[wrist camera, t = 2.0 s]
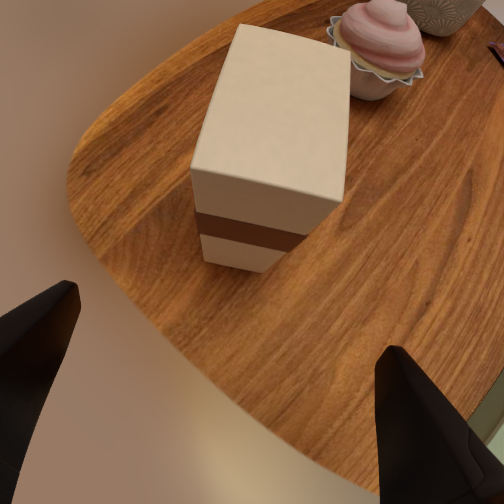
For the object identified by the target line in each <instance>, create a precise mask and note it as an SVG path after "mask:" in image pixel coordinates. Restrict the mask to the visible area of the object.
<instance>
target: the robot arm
mask: <svg viewBox="0 0 504 504" xmlns="http://www.w3.org/2000/svg"><path fill="white" fill-rule="evenodd" d="M80 310H81V301H80V295H79V289H78V285H77V284H76V283H74V282H71V281H67V280H63V281H61V282H59V283H58V284H56V285H54V286H52V287H50V288H49V289H47V290H45V291H43V292H42V293H40V294H38V295H36V296H35V297H33V298H31V299H30V300H28V301H26V302H24V303H23V304H21V305H19V306H18V307H16V308H15V309H13V310H11V311H9V312H8V313H6V314H5V315H3V316H1V317H0V504H11V502H12V499H13V495H14V491H15V488H16V484H17V481H18V477H19V474H20V473H19V472H20V470H21V467H22V464H23V461H24V458H25V455H26V452H27V449H28V446H29V443H30V440H31V437H32V434H33V432H34V429H35V426H36V423H37V421H38V418H39V415H40V413H41V410H42V408H43V406H44V403H45V401H46V398H47V396H48V393H49V391H50V388H51V386H52V384H53V381H54V379H55V377H56V374H57V372H58V370H59V368H60V365H61V363H62V361H63V358H64V356H65V353H66V351H67V348H68V345H69V342H70V339H71V336H72V333H73V330H74V327H75V324H76V322H77V319H78V317H79V313H80ZM375 422H376V434H377V447H378V463H379V486H380V504H504V465H503V464H502V463H501V462H500V461H499V460H498V459H497V457H496V456H495V455H494V454H493V453H492V452H491V451H490V450H489V449H488V448H487V447H486V445H485V444H484V443H483V442H482V441H481V439H480V438H479V437H478V436H477V435H476V433H475V432H474V431H473V430H472V428H471V427H469V425H468V424H467V422H466V421H465V420H464V419H463V417H462V416H461V415H460V414H459V413H458V411H457V410H456V409H455V408H454V407H453V405H452V404H451V403H450V402H449V401H448V399H447V398H446V397H445V396H444V395H443V393H442V392H441V391H440V390H439V389H438V388H437V386H436V385H435V384H434V383H433V382H432V380H431V379H430V378H429V377H428V376H427V375H426V373H425V372H424V371H423V370H422V369H421V368H420V367H419V365H418V364H417V363H416V362H415V361H414V360H413V359H412V357H411V356H410V355H409V354H408V353H407V352H406V351H405V349H404V348H403V347H401V346H394V345H390V346H388V347H387V348H386V350H385V351H384V352H383V354H382V355H381V356H380V358H379V359H378V360H377V362H376V364H375Z"/></svg>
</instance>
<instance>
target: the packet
mask: <svg viewBox="0 0 504 504" xmlns="http://www.w3.org/2000/svg"><path fill="white" fill-rule="evenodd" d="M350 72H351V52H350V51H348V50H345V49H341V48H338V47H335V46H332V45H329V44H325V43H322V42H319V41H315V40H312V39H308V38H304V37H300V36H297V35H293V34H288V33H284V32H280V31H275V30H271V29H266V28H261V27H256V26H251V25H245V24H239V26H238V28H237V31H236V33H235V36H234V38H233V41H232V43H231V46H230V49H229V51H228V54H227V56H226V59H225V62H224V65H223V67H222V70H221V73H220V75H219V78H218V81H217V84H216V87H215V90H214V92H213V95H212V98H211V101H210V104H209V107H208V110H207V113H206V116H205V119H204V122H203V125H202V128H201V132H200V135H199V138H198V141H197V144H196V147H195V151H194V154H193V157H192V161H191V164H190V171H191V178H192V185H193V192H194V199H195V206H196V207H195V210H194V212H195V218H196V224H197V230H198V233H199V234H200V238H201V244H202V250H203V256H204V261H205V262H210V263H215V264H219V265H224V266H229V267H233V268H238V269H243V270H248V271H253V272H258V273H264V272H265V271H266V270H267V269H268V268H270V267H271V266H272V265H273V264H274V263H275V262H276V261H278V260H279V259H280V258H281V257H282V256H283V255H284V254H285V253H289V252H290V251H291V250H293V249H294V248H295V247H296V246H297V245H298V244H300V243H301V242H302V241H303V240H304V239H305V238H307V236H308V233H309V232H310V231H311V230H312V229H313V228H315V227H316V226H317V225H318V224H319V223H320V222H321V221H322V220H323V219H325V218H326V217H327V216H328V215H329V214H330V213H331V212H332V211H333V210H334V209H336V208H337V207H338V206H339V205H340V204H341V203H342V202H343V194H344V183H345V171H346V158H347V144H348V127H349V106H350Z"/></svg>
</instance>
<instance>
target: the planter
mask: <svg viewBox="0 0 504 504" xmlns="http://www.w3.org/2000/svg"><path fill="white" fill-rule="evenodd" d="M395 1H397V2H401V3H405V4H406V5H407V14H408V15H409V16H410V17H411V19H412V20H413V21H414V22H415V24H416V25H417V27H418V29H419V30H421V31H423V32H425V33H428V34H431V35H434V36H448V35H451V34H453V33H454V32H456V31H457V30H458V29H459V28H460V27H461V26H462V25H463V24H464V23H465V22H466V21H467V20H468V19H469V18H470V17H471V16H472V15H473V14H474V13H475V12H476V10H477V9H478V8H479V7H480V6H481V5H482V4H483V2H484V1H485V0H395Z"/></svg>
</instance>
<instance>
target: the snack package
mask: <svg viewBox="0 0 504 504" xmlns="http://www.w3.org/2000/svg"><path fill="white" fill-rule="evenodd" d="M489 43H490V44H491V45H492V47H493V49H494V50H495V51H496V53H497V54H498V55H499V57H500V58H501V59H502V61H503V62H504V44H501V43H491V42H489Z"/></svg>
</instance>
